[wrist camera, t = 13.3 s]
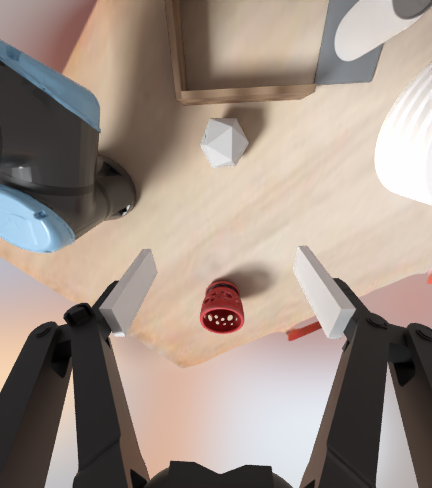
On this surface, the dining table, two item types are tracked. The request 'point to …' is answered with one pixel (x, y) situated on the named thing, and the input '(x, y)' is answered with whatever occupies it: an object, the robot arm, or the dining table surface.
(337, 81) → the slate mat
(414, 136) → the plate stack
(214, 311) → the plant pot
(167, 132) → the dining table surface
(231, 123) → the die
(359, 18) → the can
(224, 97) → the walnut u-shaped enclosure
